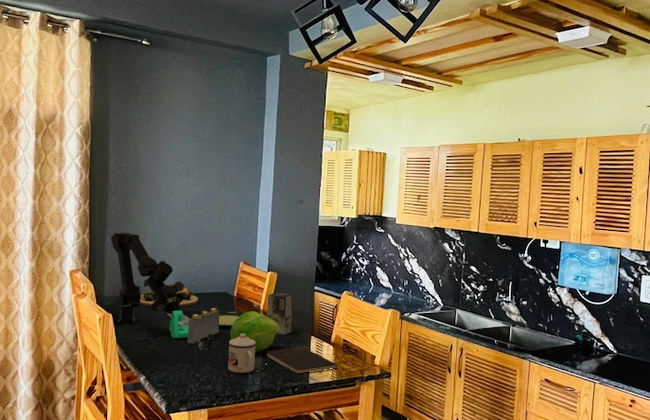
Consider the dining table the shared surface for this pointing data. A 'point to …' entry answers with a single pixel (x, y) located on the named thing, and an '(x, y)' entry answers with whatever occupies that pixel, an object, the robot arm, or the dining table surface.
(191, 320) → the grey upright panel
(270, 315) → the coffee box
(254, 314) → the lettuce
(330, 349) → the dining table surface
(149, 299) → the wooden plate with food
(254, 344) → the teacup with lid
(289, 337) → the dining table surface
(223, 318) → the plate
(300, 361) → the hardcover book
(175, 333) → the camera mount
